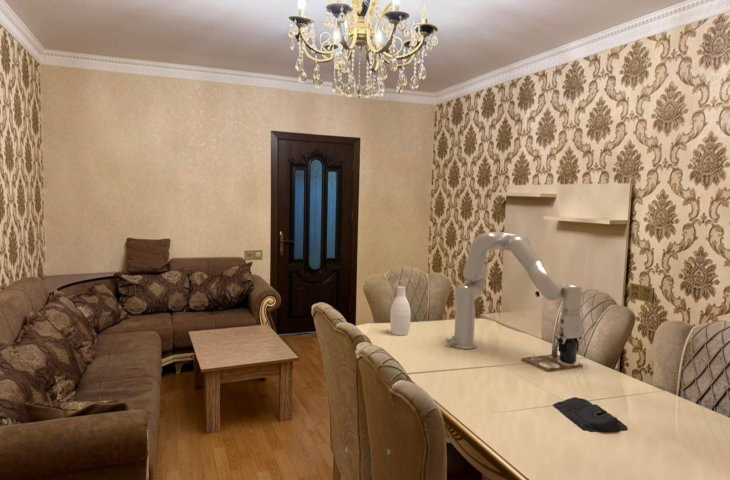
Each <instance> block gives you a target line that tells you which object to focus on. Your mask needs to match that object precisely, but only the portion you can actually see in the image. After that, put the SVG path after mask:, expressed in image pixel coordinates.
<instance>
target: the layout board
mask: <svg viewBox="0 0 730 480" xmlns="http://www.w3.org/2000/svg"><path fill="white" fill-rule="evenodd" d="M551 346H552V347H551V354H545V355H534V356H528V357H521V361H523V362H524V363H527V364H529V365H531V366H534V367H536V368H538V369H540V370H543V371H545V372H556V371H563V370H565V371H566V370H572V369H578V368H583V363H580V362H577V361H576V362H575V363H566V362H562V361H561V360H560V354H558V352H559V351H558V350H559V344H558V343H552V344H551Z"/></svg>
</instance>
